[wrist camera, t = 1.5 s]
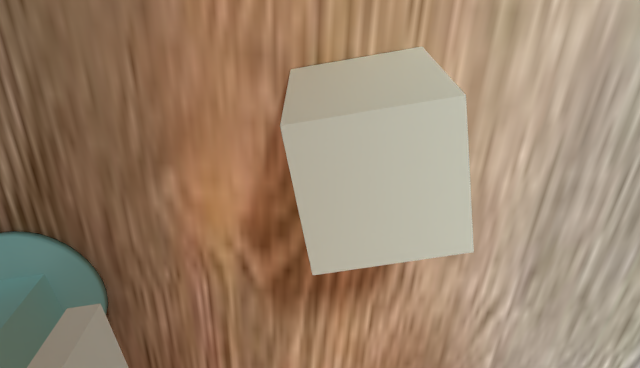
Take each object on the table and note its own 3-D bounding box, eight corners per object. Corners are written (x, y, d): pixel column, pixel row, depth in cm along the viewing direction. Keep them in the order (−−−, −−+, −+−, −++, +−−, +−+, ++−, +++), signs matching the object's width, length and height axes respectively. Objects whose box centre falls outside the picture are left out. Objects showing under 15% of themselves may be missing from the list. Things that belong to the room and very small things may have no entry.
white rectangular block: (290, 69, 21) (279, 126, 15) (422, 46, 20) (465, 94, 14) (313, 185, 23) (312, 275, 17) (432, 167, 22) (473, 252, 16)
